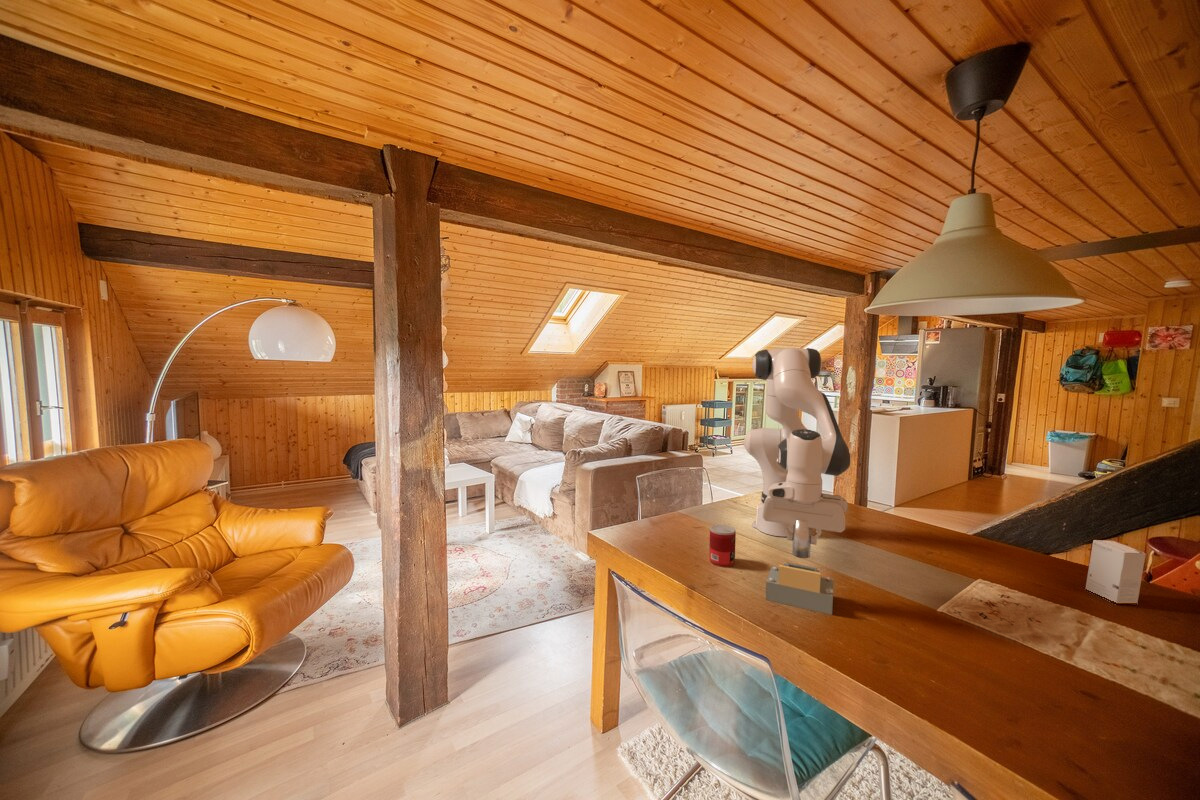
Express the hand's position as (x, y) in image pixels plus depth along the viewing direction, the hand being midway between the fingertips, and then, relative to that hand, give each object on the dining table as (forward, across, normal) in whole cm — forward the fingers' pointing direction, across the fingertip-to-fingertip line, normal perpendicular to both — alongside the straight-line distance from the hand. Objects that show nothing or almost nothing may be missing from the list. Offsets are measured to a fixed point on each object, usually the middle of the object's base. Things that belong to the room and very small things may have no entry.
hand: (801, 541), depth 123 cm
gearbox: (+16, 0, 0) cm, 16 cm away
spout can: (+4, 0, 0) cm, 4 cm away
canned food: (+16, +24, -13) cm, 32 cm away
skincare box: (+16, -75, -41) cm, 87 cm away
